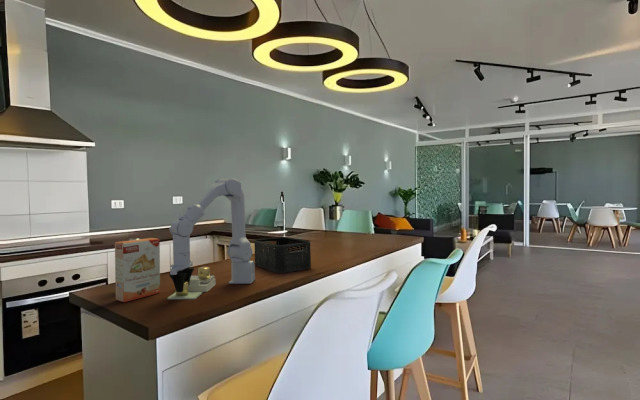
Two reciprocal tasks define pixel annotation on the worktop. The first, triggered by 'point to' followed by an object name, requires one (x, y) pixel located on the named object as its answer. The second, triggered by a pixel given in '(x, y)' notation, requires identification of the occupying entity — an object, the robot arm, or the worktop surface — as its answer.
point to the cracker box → (137, 268)
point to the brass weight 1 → (184, 289)
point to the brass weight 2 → (203, 272)
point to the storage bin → (283, 254)
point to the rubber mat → (188, 296)
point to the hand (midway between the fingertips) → (182, 289)
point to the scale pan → (203, 279)
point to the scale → (200, 285)
